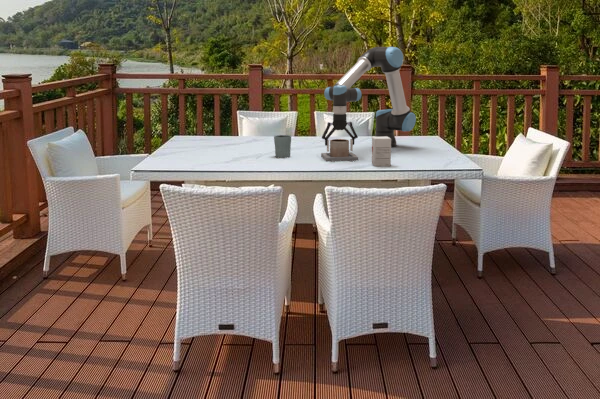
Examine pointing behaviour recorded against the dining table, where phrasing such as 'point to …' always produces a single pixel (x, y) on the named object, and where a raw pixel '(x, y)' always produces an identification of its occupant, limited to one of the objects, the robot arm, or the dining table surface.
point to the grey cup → (282, 146)
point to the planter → (339, 148)
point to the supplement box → (381, 151)
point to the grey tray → (327, 157)
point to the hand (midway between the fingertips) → (339, 151)
